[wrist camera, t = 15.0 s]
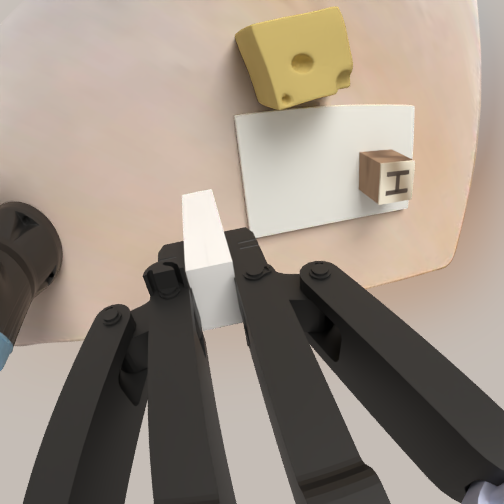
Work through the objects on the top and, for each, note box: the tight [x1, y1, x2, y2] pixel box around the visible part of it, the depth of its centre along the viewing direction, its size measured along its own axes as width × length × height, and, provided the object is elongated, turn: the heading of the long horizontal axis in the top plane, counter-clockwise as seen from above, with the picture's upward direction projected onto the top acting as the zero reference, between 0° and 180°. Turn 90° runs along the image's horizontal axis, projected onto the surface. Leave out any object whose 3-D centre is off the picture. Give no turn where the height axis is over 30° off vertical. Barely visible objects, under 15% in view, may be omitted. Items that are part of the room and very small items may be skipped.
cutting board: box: [234, 104, 414, 238], centre depth 44 cm, size 28×18×1 cm, turn 97°
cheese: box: [235, 7, 353, 110], centre depth 31 cm, size 10×11×10 cm
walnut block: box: [359, 149, 415, 205], centre depth 42 cm, size 6×6×6 cm
